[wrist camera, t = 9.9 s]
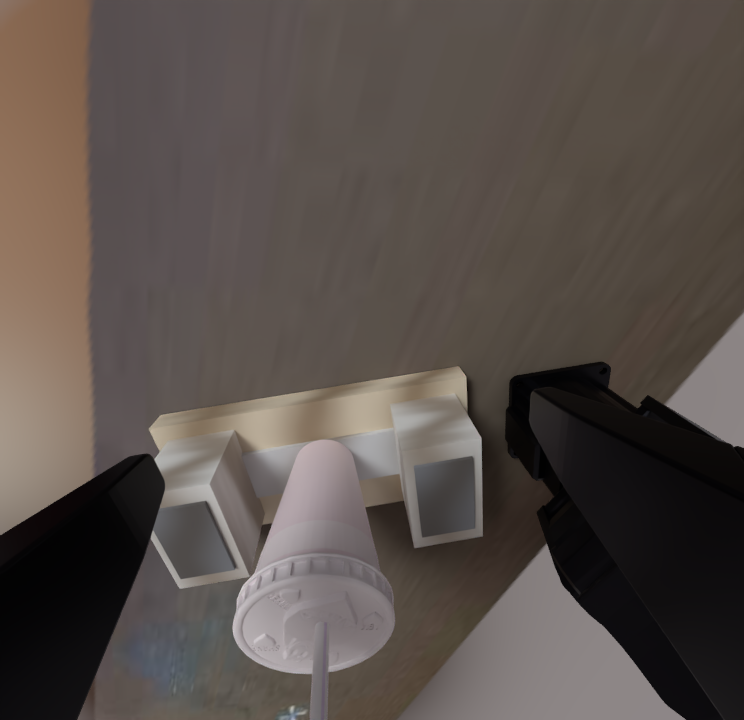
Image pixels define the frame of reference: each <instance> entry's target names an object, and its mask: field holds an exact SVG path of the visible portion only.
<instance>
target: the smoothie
mask: <svg viewBox="0 0 744 720" xmlns="http://www.w3.org/2000/svg"><path fill="white" fill-rule="evenodd" d="M393 603H394V598H393V590H392V587H391V585H390V584H389V582H388V580H387V579H386V577H385V576H384V575H383V574H382V573H381V571H380V567H379V562H378V557H377V553H376V549H375V546H374V542H373V538H372V533H371V529H370V525H369V521H368V517H367V513H366V508H365V504H364V500H363V496H362V492H361V488H360V483H359V479H358V475H357V471H356V467H355V463H354V459H353V455H352V453H351V452H350V450H349V449H348V448H347V447H346V446H344V445H343V444H341V443H339V442H337V441H333V440H317V441H314V442H311V443H309V444H307V445H306V446H304V447H303V448H302V449H301V450H300V451H299V453H298V455H297V457H296V460H295V462H294V465H293V468H292V471H291V474H290V476H289V479H288V482H287V485H286V487H285V490H284V493H283V496H282V498H281V501H280V504H279V507H278V509H277V512H276V515H275V518H274V521H273V523H272V526H271V529H270V532H269V534H268V537H267V540H266V543H265V545H264V548H263V550H262V553H261V556H260V559H259V562H258V565H257V567H256V570H255V573H254V574H253V575H252V576H251V577H250V578H249V579H248V580H247V582H246V583H245V584H244V585H243V587H242V589H241V591H240V593H239V595H238V598H237V610H236V614H235V617H234V621H233V635H234V638H235V640H236V643H237V644H238V646H239V647H240V649H241V650H242V651H243V652H244V653H245V654H246V655H247V656H248V657H250V658H251V659H253V660H254V661H255V662H257V663H259V664H261V665H264V666H266V667H268V668H271V669H275V670H278V671H282V672H288V673H295V674H312V686H311V704H310V720H327V713H328V672H332V671H338V670H341V669H344V668H348V667H351V666H353V665H356V664H358V663H360V662H362V661H364V660H366V659H367V658H369V657H371V656H372V655H374V654H375V653H376V652H377V651H378V650H380V649H381V648H382V647H383V646H384V644H385V643H386V642H387V641H388V639H389V638H390V636H391V634H392V632H393V629H394V625H395V613H394V607H393Z"/></svg>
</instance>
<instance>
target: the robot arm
mask: <svg viewBox="0 0 744 720" xmlns="http://www.w3.org/2000/svg"><path fill="white" fill-rule="evenodd" d="M602 368H603V369H602ZM601 369H602V371H600V370H601ZM610 372H611V367H610V366H609V365H608V364H606V363H604V362H596V363H590V364H584V365H578V366H572V367H566V368H560V369H553V370H547V371H541V372H535V373H529V374H523V375H517V376H514V377H513V378H512V379H511V380H510V385H509V407H508V408H507V409H506V429H505V439H506V441H507V442H508V453H509V454H510V456H511V457H512V458H519V459H520V461H521V462H522V464H523V465H524V467H525V468H526V470H527V471H528V472H529V474H530V475H531V477H532V478H533V479H535V480H536V481H539V480H543V482H544V483H545V485H546V486H547V487H548V489H549V490H550V491H551V493H552V494H553V496H554V497H553V498H552V499H551V500H550V501H549V503H548V504H547V505H546V506H544V505H543V506H542V507H541V508H540V509H539V510H538V511H537V515H538V518H539V521H540V524H541V527H542V530H543V533H544V536H545V539H546V542H547V545H548V547H549V550H550V553H551V556H552V559H553V562H554V565H555V568H556V570H557V573H558V575H559V577H560V580H561V583H562V584H563V586H564V587H565V588H566V589H567V590H568V591H569V592H570V594H571V595H572V596H573V597H574V598H575V600H576V601H577V602H578V603H579V604H580V606H581V607H582V608H583V609H584V610H586V612H588V614H589V615H591V616H592V617H593V618H594V619H595V620H597V621H598V622H599V623H600V624H602V625H603V626H604V627H605V628H606V629H607V630H608V632H609V633H610V634H611V635H612V636H613V637H614V638H615V639H616V641H617V642H618V643H619V644H620V645H621V646H622V647H623V649H624V650H625V651H626V652H627V654H628V655H629V656H630V658H631V659H632V660H633V661H634V663H635V664H636V665H637V667H638V668H639V669H640V670H641V672H642V673H643V675H644V676H645V677H646V679H647V680H648V681H649V683H650V684H651V685H652V687H653V688H654V689H655V691H656V692H657V694H658V695H659V696H660V698H661V699H662V700H663V701H664V702H665V704H667V705H668V706H669V707H670V708H671V709H673V710H674V711H675V712H677V713H678V714H679V715H681V716H682V717H683V718H685V719H686V720H744V448H742V447H739V446H736V447H733V446H732V445H731V444H729V443H726V442H725V441H723V440H721V439H720V438H718V437H717V436H715V435H713V434H712V433H710V432H709V431H707V430H705V429H704V428H702V427H700V426H699V425H697V424H695V423H694V422H692V421H690V420H688V419H687V418H685V417H683V416H682V415H680V414H679V413H677V412H675V411H673V410H672V409H670V408H669V407H667V406H665V405H664V404H662V403H660V402H659V401H657V400H655V399H654V398H652V397H650V396H649V395H647V396H646V397H645V398H644V400H643V401H642V402H641V404H642V405H641V406H640V407H639V408H638V409H637V408H636V407H634V406H633V405H632V404H630V403H629V402H627V401H626V400H624V399H623V398H622V397H620V396H619V395H617V394H616V393H614V392H613V391H612V390H610V389H609V388H608V384H609V378H610ZM518 382H521V383H520V384H519V385H517V386H516V384H517V383H518ZM164 492H165V480H164V478H163V476H162V474H161V472H160V470H159V468H158V466H157V464H156V462H155V460H154V458H153V457H152V456H151V455H150V454H140V455H134V456H130V457H128V458H126V459H124V460H123V461H121V462H119V463H118V464H116V465H114V466H113V467H111V468H109V469H108V470H106V471H105V472H103V473H101V474H100V475H98V476H96V477H95V478H93V479H92V480H90V481H88V482H87V483H85V484H83V485H82V486H80V487H78V488H77V489H75V490H74V491H72V492H70V493H69V494H67V495H65V496H64V497H62V498H61V499H59V500H57V501H56V502H54V503H52V504H51V505H49V506H48V507H46V508H44V509H43V510H41V511H40V512H38V513H36V514H34V515H33V516H31V517H30V518H28V519H26V520H25V521H23V522H21V523H20V524H18V525H17V526H15V527H13V528H12V529H10V530H9V531H7V532H5V533H4V534H2V535H0V720H77V719H78V716H79V714H80V712H81V709H82V707H83V704H84V702H85V700H86V697H87V694H88V692H89V690H90V688H91V685H92V683H93V680H94V678H95V675H96V673H97V671H98V668H99V666H100V663H101V661H102V659H103V656H104V654H105V651H106V649H107V646H108V644H109V642H110V639H111V637H112V634H113V632H114V630H115V627H116V625H117V622H118V620H119V617H120V615H121V613H122V610H123V608H124V605H125V603H126V601H127V598H128V596H129V593H130V591H131V588H132V586H133V584H134V581H135V579H136V576H137V574H138V571H139V569H140V567H141V564H142V562H143V559H144V556H145V554H146V551H147V548H148V545H149V542H150V538H151V535H152V532H153V528H154V525H155V522H156V518H157V515H158V512H159V509H160V505H161V502H162V499H163V495H164Z"/></svg>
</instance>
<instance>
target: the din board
mask: <svg viewBox="0 0 744 720" xmlns="http://www.w3.org/2000/svg"><path fill="white" fill-rule="evenodd" d="M149 430H150V432H151V435H152V437H153V439H154V441H155V443H156V445H157V447H158V449H159V451H160V453H159V454H158V455H157V457H156V458H155V462H156V464H157V466H158V468H159V470H160V472H161V474H162V476H163V478H164V480H165V492H164V495H163V499H162V502H161V505H160V509H159V512H158V515H157V518H156V522H155V525H154V528H153V532H152V535H151V540H152V541H153V543H154V545H155V547H156V548H157V550H158V552H159V554H160V555H161V557H162V559H163V561H164V562H165V564H166V566H167V567H168V569H169V571H170V573H171V574H172V576H173V578H174V580H175V581H176V583H177V585H178V587H179V588H180V589H182V588H187V587H193V586H199V585H205V584H210V583H216V582H222V581H228V580H234V579H239V578H245V577H250V574H251V570H252V566H253V562H254V557H255V553H256V549H257V545H258V540H259V536H260V532H261V528H262V525H264V524H270V523H273V521H274V518H275V515H276V512H277V509H278V507H279V504H280V501H281V498H282V496H283V493H284V490H285V487H286V485H287V482H288V479H289V476H290V474H291V471H292V468H293V465H294V462H295V460H296V457H297V455H298V453H299V451H300V450H301V449H302V448H303V447H304V446H306V445H307V444H309V443H311V442H314V441H317V440H333V441H337V442H339V443H341V444H343V445H344V446H346V447H347V448H348V449H349V450H350V452H351V453H352V455H353V459H354V463H355V467H356V471H357V475H358V479H359V483H360V488H361V492H362V496H363V500H364V504H365V507H370V506H376V505H382V504H387V503H393V502H399V501H404V502H405V507H406V512H407V516H408V521H409V525H410V530H411V535H412V539H413V544H414V548H419V547H424V546H430V545H436V544H442V543H448V542H453V541H459V540H465V539H471V538H476V537H482V536H483V510H482V438H481V436H480V435H479V433H478V431H477V430H476V428H475V426H474V425H473V423H472V421H471V420H470V418H469V416H468V412H467V381H466V376H465V374H464V373H463V371H462V370H461V369H460V367H459V366H457V367H451V368H445V369H439V370H433V371H427V372H420V373H414V374H408V375H402V376H396V377H390V378H384V379H378V380H372V381H365V382H359V383H353V384H347V385H341V386H335V387H329V388H323V389H317V390H310V391H304V392H298V393H292V394H286V395H280V396H274V397H268V398H262V399H255V400H249V401H243V402H237V403H231V404H225V405H219V406H213V407H206V408H200V409H194V410H188V411H182V412H176V413H170V414H164V415H160V416H159V417H158V419H157V420H156V421H155V422H154V423H153V425H152V426H151V427H150V428H149Z"/></svg>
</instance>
